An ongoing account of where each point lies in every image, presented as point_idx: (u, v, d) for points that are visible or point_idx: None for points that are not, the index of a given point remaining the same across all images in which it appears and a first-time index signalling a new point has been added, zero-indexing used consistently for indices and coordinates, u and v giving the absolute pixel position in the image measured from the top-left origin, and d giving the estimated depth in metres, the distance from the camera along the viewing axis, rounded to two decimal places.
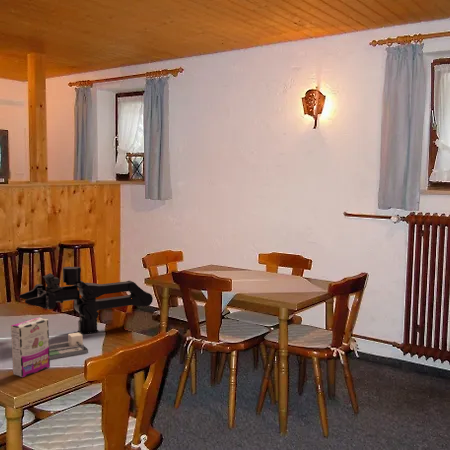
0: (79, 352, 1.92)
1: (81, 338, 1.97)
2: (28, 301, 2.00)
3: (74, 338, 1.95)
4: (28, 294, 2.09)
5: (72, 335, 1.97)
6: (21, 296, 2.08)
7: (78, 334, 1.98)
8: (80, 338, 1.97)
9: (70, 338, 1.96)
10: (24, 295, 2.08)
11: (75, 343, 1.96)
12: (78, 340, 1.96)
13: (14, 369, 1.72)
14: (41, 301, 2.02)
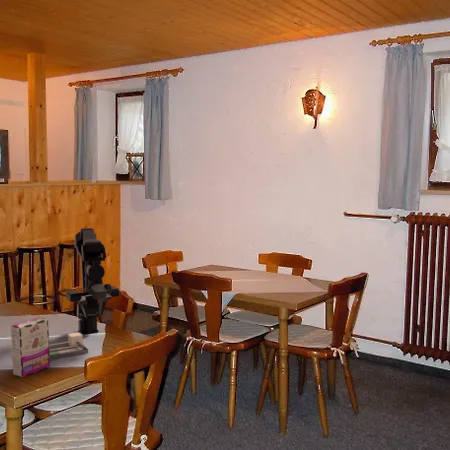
0: (79, 352, 1.92)
1: (81, 338, 1.97)
2: None
3: (74, 338, 1.95)
4: None
5: (72, 335, 1.97)
6: None
7: (78, 334, 1.98)
8: (80, 338, 1.97)
9: (70, 338, 1.96)
10: None
11: (75, 343, 1.96)
12: (78, 340, 1.96)
13: (14, 369, 1.72)
14: None
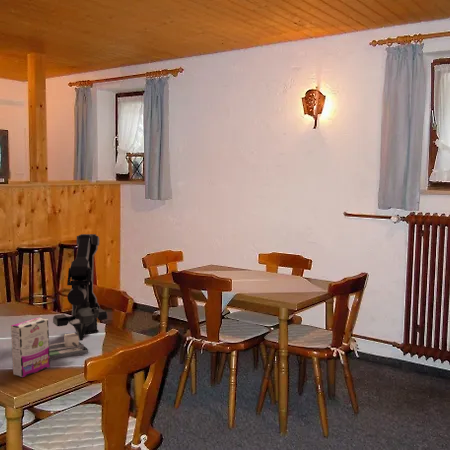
0: (79, 352, 1.92)
1: (77, 339, 1.96)
2: None
3: (70, 339, 1.95)
4: None
5: (68, 336, 1.96)
6: None
7: (74, 334, 1.97)
8: (76, 338, 1.96)
9: (66, 339, 1.95)
10: None
11: (71, 344, 1.95)
12: (74, 341, 1.96)
13: (14, 369, 1.72)
14: None
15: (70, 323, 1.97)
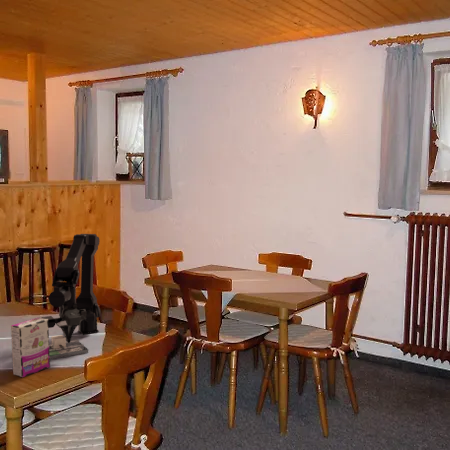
0: (79, 352, 1.92)
1: (64, 341, 1.94)
2: None
3: (56, 341, 1.92)
4: None
5: (55, 338, 1.93)
6: None
7: (61, 336, 1.95)
8: (63, 340, 1.93)
9: (53, 341, 1.93)
10: None
11: (58, 346, 1.93)
12: (61, 343, 1.93)
13: (14, 369, 1.72)
14: None
15: (57, 325, 1.94)
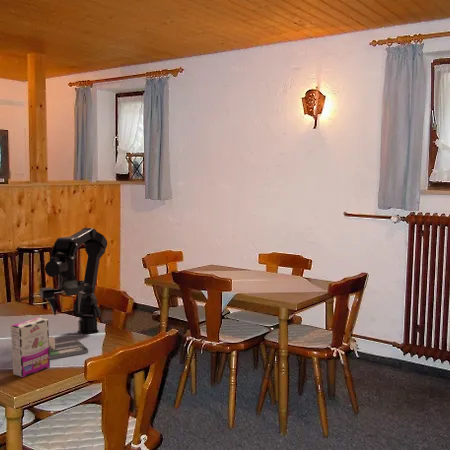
0: (79, 352, 1.92)
1: (53, 343, 1.92)
2: None
3: None
4: None
5: None
6: None
7: (51, 338, 1.93)
8: (52, 342, 1.91)
9: None
10: None
11: None
12: (50, 345, 1.91)
13: (14, 369, 1.72)
14: None
15: (44, 297, 1.97)
